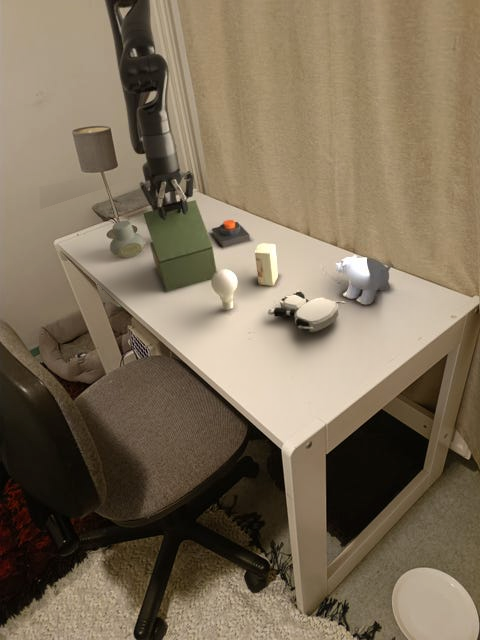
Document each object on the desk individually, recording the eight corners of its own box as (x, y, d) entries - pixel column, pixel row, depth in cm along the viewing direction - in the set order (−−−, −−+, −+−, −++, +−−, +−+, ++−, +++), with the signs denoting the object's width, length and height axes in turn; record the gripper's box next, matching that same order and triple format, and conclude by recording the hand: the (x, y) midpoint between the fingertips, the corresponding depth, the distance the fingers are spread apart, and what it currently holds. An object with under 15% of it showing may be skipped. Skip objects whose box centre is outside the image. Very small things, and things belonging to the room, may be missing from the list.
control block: (212, 234, 146) (210, 223, 143) (237, 227, 148) (236, 216, 145) (223, 248, 137) (221, 236, 135) (250, 240, 139) (248, 229, 137)
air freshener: (115, 263, 137) (106, 234, 131) (110, 252, 143) (101, 224, 137) (149, 253, 140) (141, 224, 134) (143, 243, 146) (135, 215, 140)
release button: (222, 226, 141) (221, 221, 140) (232, 223, 142) (232, 218, 141) (226, 230, 138) (225, 225, 137) (236, 227, 139) (236, 222, 138)
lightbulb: (222, 319, 108) (216, 281, 101) (212, 307, 112) (205, 270, 106) (245, 310, 110) (240, 272, 103) (233, 298, 114) (228, 261, 108)
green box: (156, 269, 131) (149, 242, 126) (203, 256, 134) (198, 229, 129) (166, 291, 121) (159, 263, 115) (217, 276, 124) (212, 248, 119)
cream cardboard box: (263, 274, 122) (260, 242, 116) (278, 276, 121) (276, 243, 115) (257, 285, 118) (254, 251, 112) (273, 286, 117) (270, 253, 111)
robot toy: (265, 322, 106) (316, 343, 96) (263, 307, 104) (314, 327, 94) (297, 299, 112) (347, 316, 103) (296, 283, 110) (347, 300, 100)
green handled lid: (143, 214, 118) (141, 204, 113) (195, 201, 122) (196, 190, 116) (159, 262, 115) (158, 254, 110) (212, 248, 119) (214, 239, 113)
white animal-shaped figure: (350, 271, 119) (351, 239, 113) (400, 290, 109) (404, 256, 104) (324, 288, 113) (325, 256, 108) (375, 310, 104) (378, 275, 98)
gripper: (185, 140, 110) (195, 204, 121) (128, 153, 107) (145, 217, 118) (193, 148, 105) (203, 214, 115) (134, 161, 101) (150, 228, 112)
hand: (174, 215), depth 116 cm, fingers closed on green handled lid, 5 cm apart
